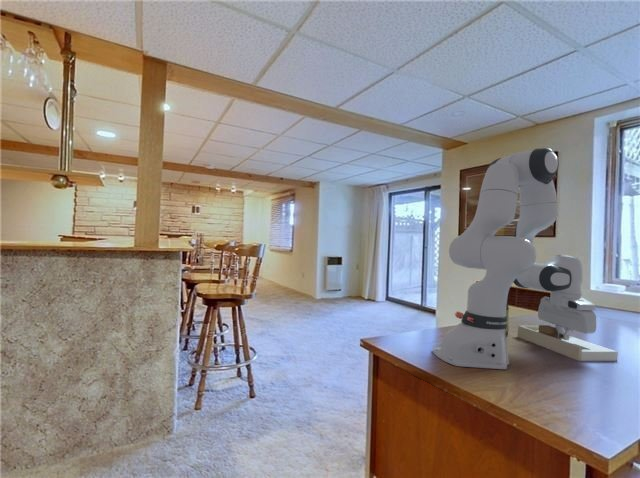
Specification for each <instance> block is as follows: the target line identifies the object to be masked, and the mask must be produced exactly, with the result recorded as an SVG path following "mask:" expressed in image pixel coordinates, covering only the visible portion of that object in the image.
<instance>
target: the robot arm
mask: <svg viewBox="0 0 640 478" xmlns="http://www.w3.org/2000/svg"><path fill="white" fill-rule="evenodd" d="M558 169H559V158H558V155H557V153H556V152H555V151H553V150H552V149H551V148H550V147H549V148H548V147H541V148H540V147H539V148H534V149H533V150H526V151H521V152H515V153H512V154H510V155H506V156H504V157H499V158H497V159H494V160H493V161H492V162H491V163H489V164H488V166H487V169H486V172H485V174H484V176H483V177H484V178H483V179H482V184H481V187H480V191H479V197H478V202H477V207H476V211H475V215H474V217H473V220H472V221H471V222H470V224H469V226H468V227H467V228H466V229H465V230H464V231H463V233H461V234H460V235H459V236H456V237H455V238H454V239H453V240H451V243H450V244H449V248H448V254H449V258H450V260H451V261H452V262H453V264H455V265H458V266H461V267H463V268H466V269H467V268H468V269H474V270H475V269H476V270H477V269H478V270H484V271H486V272H485V275H484V277H483V278H482V279H480V280H479V281H475V282H473V283H472V284H471V285H470V286H469V288H468V289H467V302H466V304H467V305H466V310H465V312H464V313H462V312H460V311H456V312H455V313H454V316H455V317H456V318H458V319H461V320H460V321H461V322H460V323H458V324H457V325H455V326H454V327H452V328H451V329H449V330H448V331H447V332H445V333H444V334H443V335H442V337H441V338H442V339H441V342H440V346H437V347H436V346H435V347H433V349H432V352H433V354H434V355H435V356H436V358H439V359H440V360H442V361H444V362H446V363H448V364H451V365H452V366H455V367H463V368H464V367H466V368H468V367H469V368H477V369H478V368H481V369H491V370H493V369H497V370H507V369H508V366H509V365H510V359H509V355H508V350H507V349H508V348H507V341H506V340H507V338H506V337H507V336H506V335H505V331H506V328H507V316H506V305H507V303H508V295H509V292H510V288H511V286H512V284H514V285H515V286H516V287H518V288H520V289H531V290H537V291H543V292H550V297H549V296H546V295H545V296H543V297H542V298H540V303H539V306H538V310H537V317H538V320H540V321H542V322H545V323H546V322H547V323H550V324H552V325H555V326H554V327H555V328H556V330H557V332H558V338H561V339H563V340H569V336H571V334H572V333H573V331H574V332H575V331H576V332H579V333H582V334H587V335H588V334H589V335H592V334H594V333H595V332H596V331H597V316H596V313H595V312H594V311H596V309H597V306H596V304H594V302H591V301H589V300H587V299H586V298H584V297H582V291H581V287H582V286H581V285H582V282H583V265H582V262H581V260H580V259H579V258H578V257H576V256H572V255H566V254H557V255H554V257H553V258H552V259H550V260H548V261H545V262H542V263H538V262H536V259H537V251H536V248H535V245H534V238H535V237H536V236H537V235H538V234H539V233H540V232H542V231H544V230H546V229H548V228H549V227H551V226H553V224H554V223H555V222H556V220H557V219H558V214H559V207H558V198H557V192H556V188H555V187H556V186H555V184H554V180H553V178H554V177H555V176H556V174H557V173H558ZM518 199H519V217H518V221H517V222H516V225H515V229H514V236H511V235H496V234H497V232H499V230H501V229H502V228H504V227H506V226H509V225H510V224H511V223H512V222H513V221H514V219H515V218H516V211H517V204H518Z"/></svg>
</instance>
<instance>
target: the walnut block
mask: <svg viewBox="0 0 640 478" xmlns="http://www.w3.org/2000/svg"><path fill="white" fill-rule="evenodd" d="M538 326H539V332H540V333H543V334H546V335H549V336H552V337H554V338H557V339H560V340H562V339H561V338H558V332H557V330H556V328H555V326H554V325H549V324H547V325H546V324H543V325H542V324H540V325H538Z"/></svg>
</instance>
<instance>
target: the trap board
mask: <svg viewBox="0 0 640 478" xmlns="http://www.w3.org/2000/svg"><path fill="white" fill-rule="evenodd" d="M517 337H518V338H520V339H523V340H525V341H528V342H530V343H533V344H535V345H538V346H540V347H542V348H544V349H547V350H550V351H553V352H555V353H558V354H560V355H563V356H565V357H568V358H571V359H572V360H575V361H578V362H596V361H597V362H599V361H600V362H606V361H607V362H609V361H610V362H613V361H616V362H617V361H618V357H619V356H618V354H619V352H618V351H617V350H614V349H610V348H607V347H605V346H601V345H599V344H595V343H593V342H590V341H586V340H583V339H580V338H578V337H574V336H571V335H569V340H563V339H562V340H560V339H557V338H554V337H552V336H549V335H546V334H543V333H540V332H539V325H518V326H517Z"/></svg>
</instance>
